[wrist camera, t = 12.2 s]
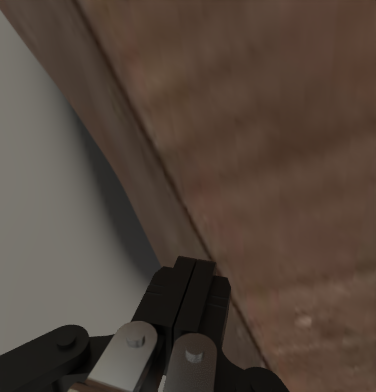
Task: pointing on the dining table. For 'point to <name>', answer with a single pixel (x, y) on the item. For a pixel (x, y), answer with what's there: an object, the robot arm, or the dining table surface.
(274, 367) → the dining table surface
